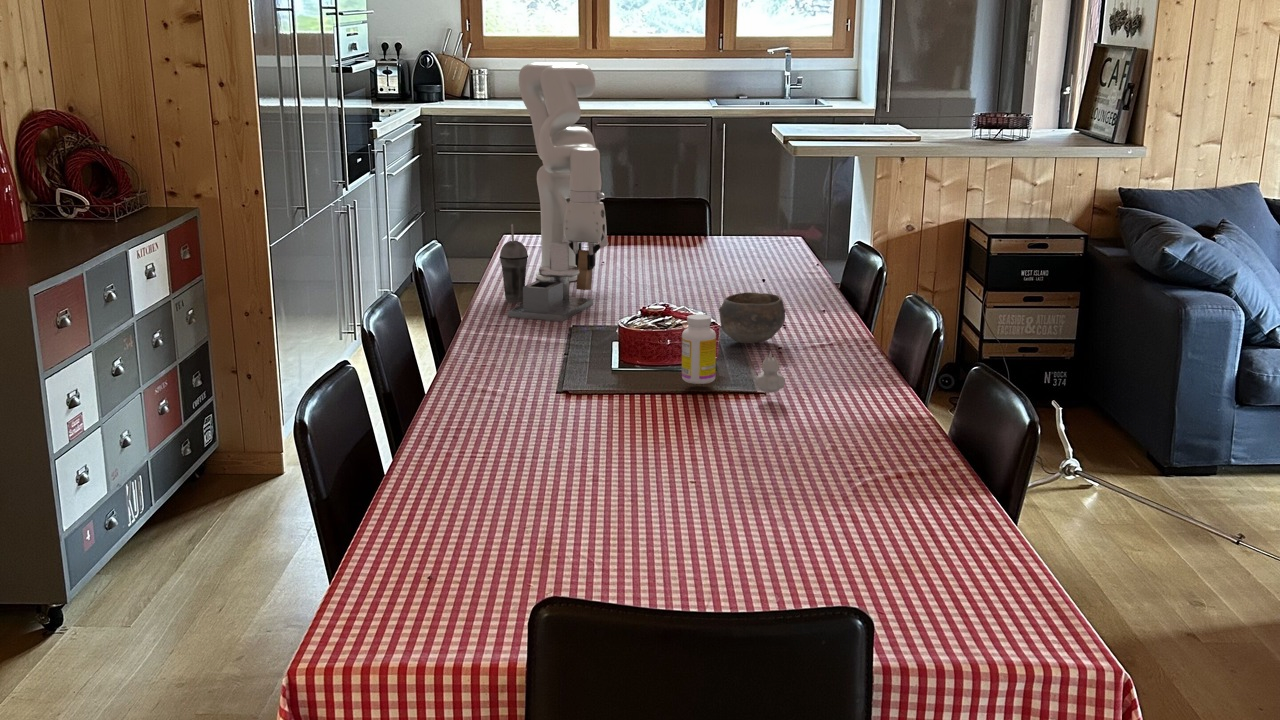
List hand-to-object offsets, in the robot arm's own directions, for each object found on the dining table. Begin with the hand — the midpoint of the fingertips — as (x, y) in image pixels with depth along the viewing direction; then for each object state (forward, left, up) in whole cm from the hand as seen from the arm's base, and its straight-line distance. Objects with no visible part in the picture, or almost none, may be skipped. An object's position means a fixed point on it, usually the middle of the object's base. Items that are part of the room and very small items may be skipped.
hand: (585, 268), depth 310 cm
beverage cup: (+9, -16, -8) cm, 20 cm away
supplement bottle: (+62, +49, -8) cm, 80 cm away
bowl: (+28, +51, -8) cm, 59 cm away
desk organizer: (+15, -3, -8) cm, 17 cm away
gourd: (+66, +65, -8) cm, 92 cm away
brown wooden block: (+1, 0, -5) cm, 5 cm away
